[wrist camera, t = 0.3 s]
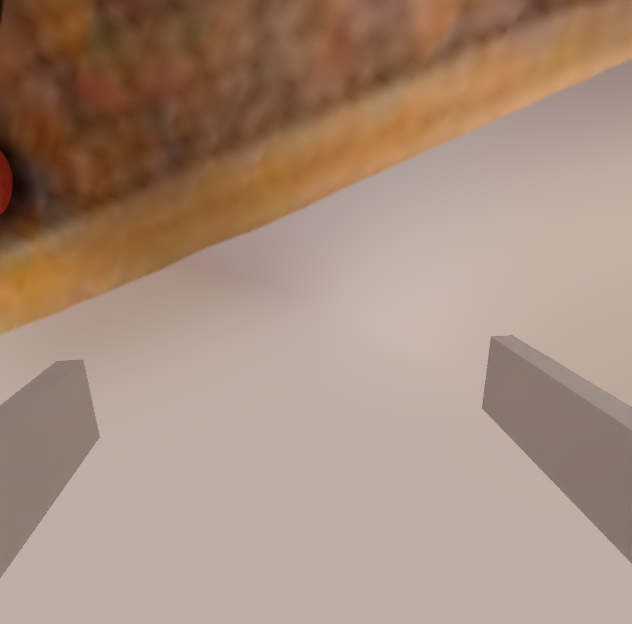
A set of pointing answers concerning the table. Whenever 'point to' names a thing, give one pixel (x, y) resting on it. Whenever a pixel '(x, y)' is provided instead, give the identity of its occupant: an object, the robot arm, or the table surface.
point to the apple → (5, 183)
